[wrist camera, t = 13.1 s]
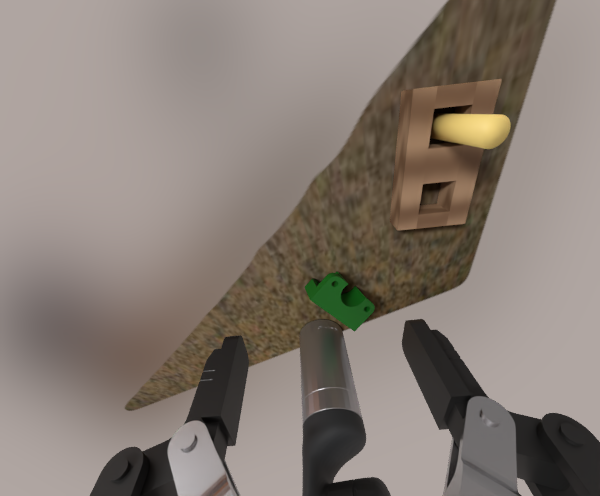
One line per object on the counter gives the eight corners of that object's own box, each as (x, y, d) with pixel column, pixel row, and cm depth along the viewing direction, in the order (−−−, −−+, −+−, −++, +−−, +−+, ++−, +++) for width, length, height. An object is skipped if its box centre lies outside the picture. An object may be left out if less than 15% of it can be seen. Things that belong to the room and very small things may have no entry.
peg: (439, 140, 34) (497, 152, 24) (420, 134, 34) (471, 144, 24) (451, 116, 33) (517, 119, 23) (430, 110, 32) (490, 110, 23)
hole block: (451, 214, 40) (464, 223, 36) (389, 221, 40) (397, 230, 37) (481, 81, 31) (502, 78, 28) (401, 91, 31) (413, 89, 28)
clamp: (350, 279, 51) (381, 309, 44) (331, 300, 52) (358, 333, 45) (319, 257, 43) (351, 290, 36) (297, 282, 43) (324, 319, 37)
